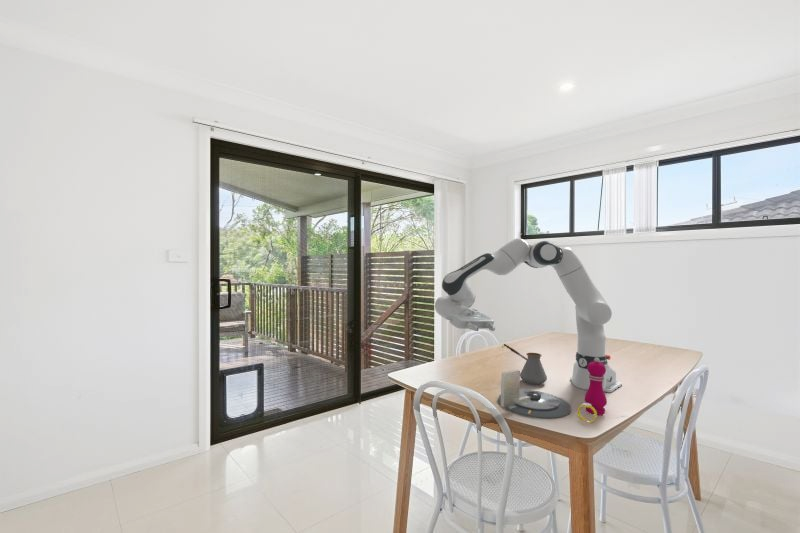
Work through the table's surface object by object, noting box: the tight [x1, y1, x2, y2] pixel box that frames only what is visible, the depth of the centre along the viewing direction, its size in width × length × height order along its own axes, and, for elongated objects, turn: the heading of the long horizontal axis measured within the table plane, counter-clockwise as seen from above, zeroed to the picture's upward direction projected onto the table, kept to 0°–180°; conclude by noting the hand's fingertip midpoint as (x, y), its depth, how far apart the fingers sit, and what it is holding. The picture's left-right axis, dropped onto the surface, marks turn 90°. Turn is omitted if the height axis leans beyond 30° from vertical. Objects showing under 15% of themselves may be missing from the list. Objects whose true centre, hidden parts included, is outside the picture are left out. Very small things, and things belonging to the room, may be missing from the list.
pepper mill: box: [584, 358, 608, 416], centre depth 139 cm, size 7×7×20 cm
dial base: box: [498, 392, 572, 420], centre depth 145 cm, size 26×26×1 cm
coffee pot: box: [501, 343, 548, 386], centre depth 174 cm, size 21×12×15 cm, turn 45°
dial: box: [500, 369, 559, 411], centre depth 143 cm, size 26×18×13 cm
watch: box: [577, 402, 598, 423], centre depth 131 cm, size 6×3×6 cm, turn 46°
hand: (485, 329), depth 151 cm, fingers open, 8 cm apart
